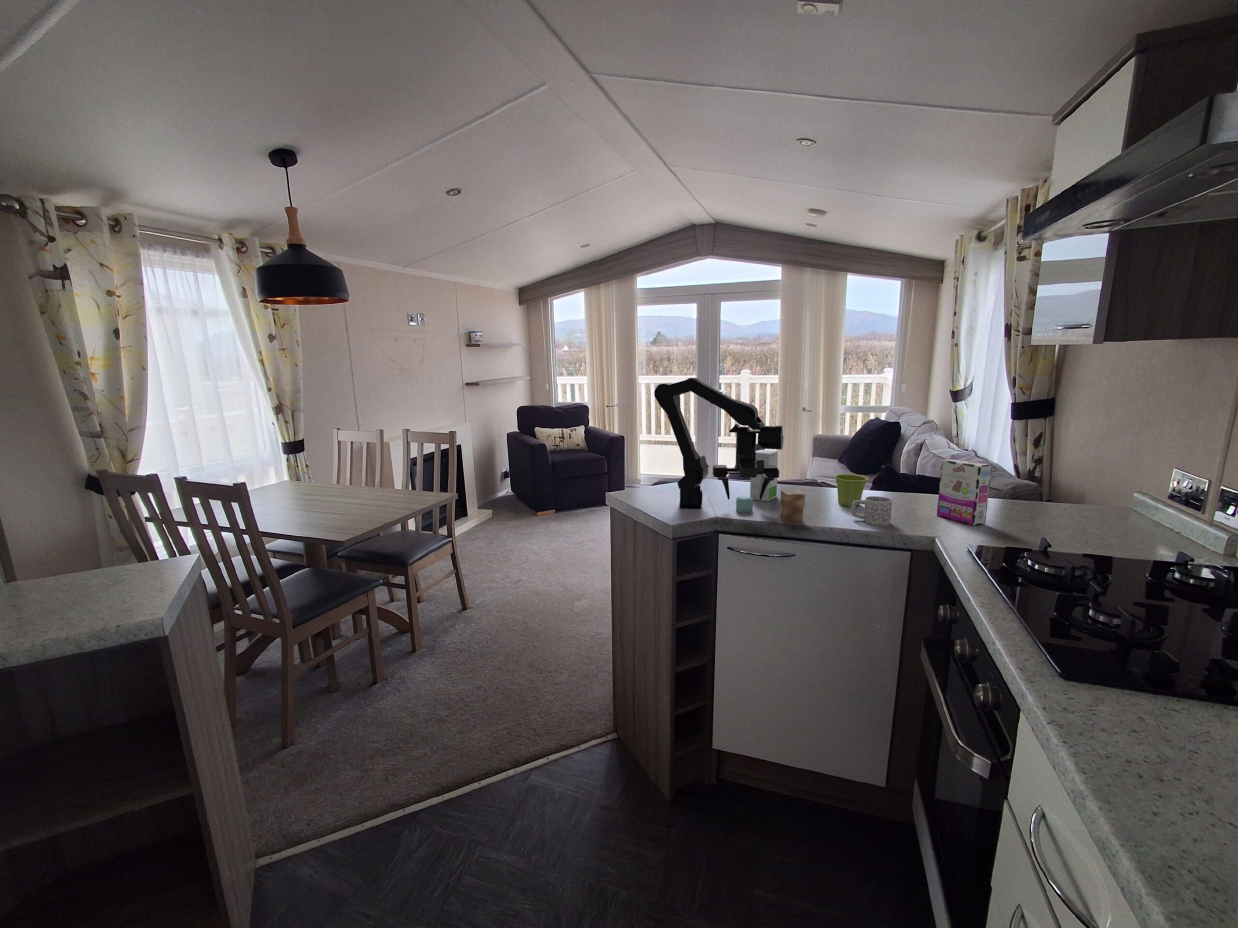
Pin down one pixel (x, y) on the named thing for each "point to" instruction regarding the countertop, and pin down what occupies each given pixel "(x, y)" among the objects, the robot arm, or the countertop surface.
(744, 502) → the teal block
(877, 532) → the countertop surface
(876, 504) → the mug
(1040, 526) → the countertop surface
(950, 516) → the candy bar box
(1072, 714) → the countertop surface
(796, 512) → the tower base
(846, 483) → the plant pot
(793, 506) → the tan wooden block
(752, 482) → the skincare box
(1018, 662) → the countertop surface
